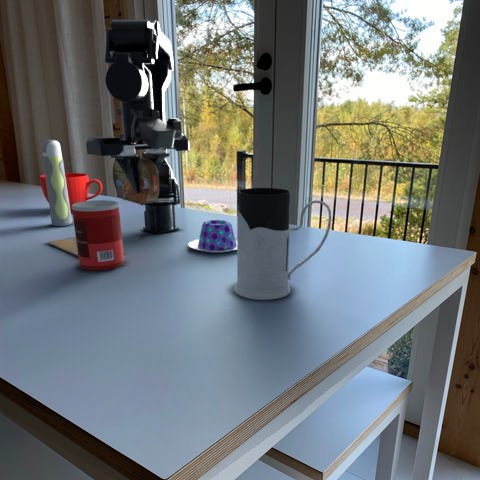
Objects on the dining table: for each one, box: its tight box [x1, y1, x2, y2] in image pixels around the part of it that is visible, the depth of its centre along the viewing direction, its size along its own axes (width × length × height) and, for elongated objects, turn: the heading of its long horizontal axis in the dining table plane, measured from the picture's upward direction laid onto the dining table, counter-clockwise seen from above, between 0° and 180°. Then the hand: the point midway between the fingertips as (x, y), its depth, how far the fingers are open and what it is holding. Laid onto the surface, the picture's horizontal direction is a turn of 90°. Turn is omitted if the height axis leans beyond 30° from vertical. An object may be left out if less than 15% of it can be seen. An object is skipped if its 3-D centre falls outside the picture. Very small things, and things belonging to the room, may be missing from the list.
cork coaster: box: [47, 237, 79, 258], centre depth 97 cm, size 7×18×1 cm, turn 43°
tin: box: [112, 157, 159, 205], centre depth 92 cm, size 15×3×8 cm, turn 39°
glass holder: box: [233, 187, 332, 301], centre depth 71 cm, size 9×14×15 cm, turn 88°
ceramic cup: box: [39, 172, 103, 214], centre depth 135 cm, size 13×17×10 cm
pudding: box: [187, 219, 237, 253], centre depth 97 cm, size 12×12×5 cm
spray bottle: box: [41, 139, 73, 227], centre depth 115 cm, size 5×5×20 cm
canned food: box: [72, 199, 125, 271], centre depth 84 cm, size 8×8×11 cm
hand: (143, 192), depth 90 cm, fingers closed on tin, 3 cm apart
